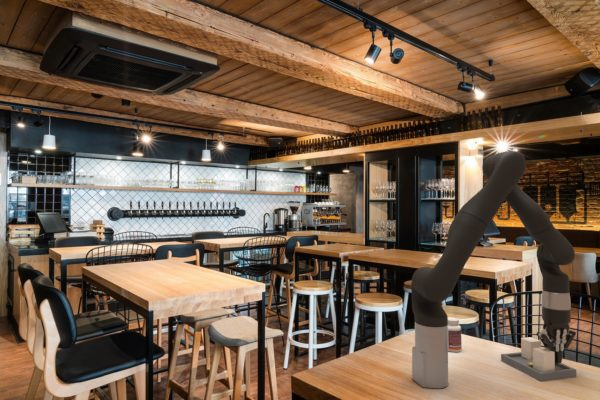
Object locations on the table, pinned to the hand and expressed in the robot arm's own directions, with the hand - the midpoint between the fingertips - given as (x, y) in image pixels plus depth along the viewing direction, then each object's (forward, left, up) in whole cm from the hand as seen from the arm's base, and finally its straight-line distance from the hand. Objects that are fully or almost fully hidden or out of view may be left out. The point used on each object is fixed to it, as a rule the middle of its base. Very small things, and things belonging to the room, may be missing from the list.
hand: (556, 362), depth 121 cm
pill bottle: (-19, +25, -4) cm, 32 cm away
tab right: (-5, 0, -2) cm, 5 cm away
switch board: (-3, +4, -3) cm, 6 cm away
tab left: (-1, +9, -2) cm, 9 cm away
